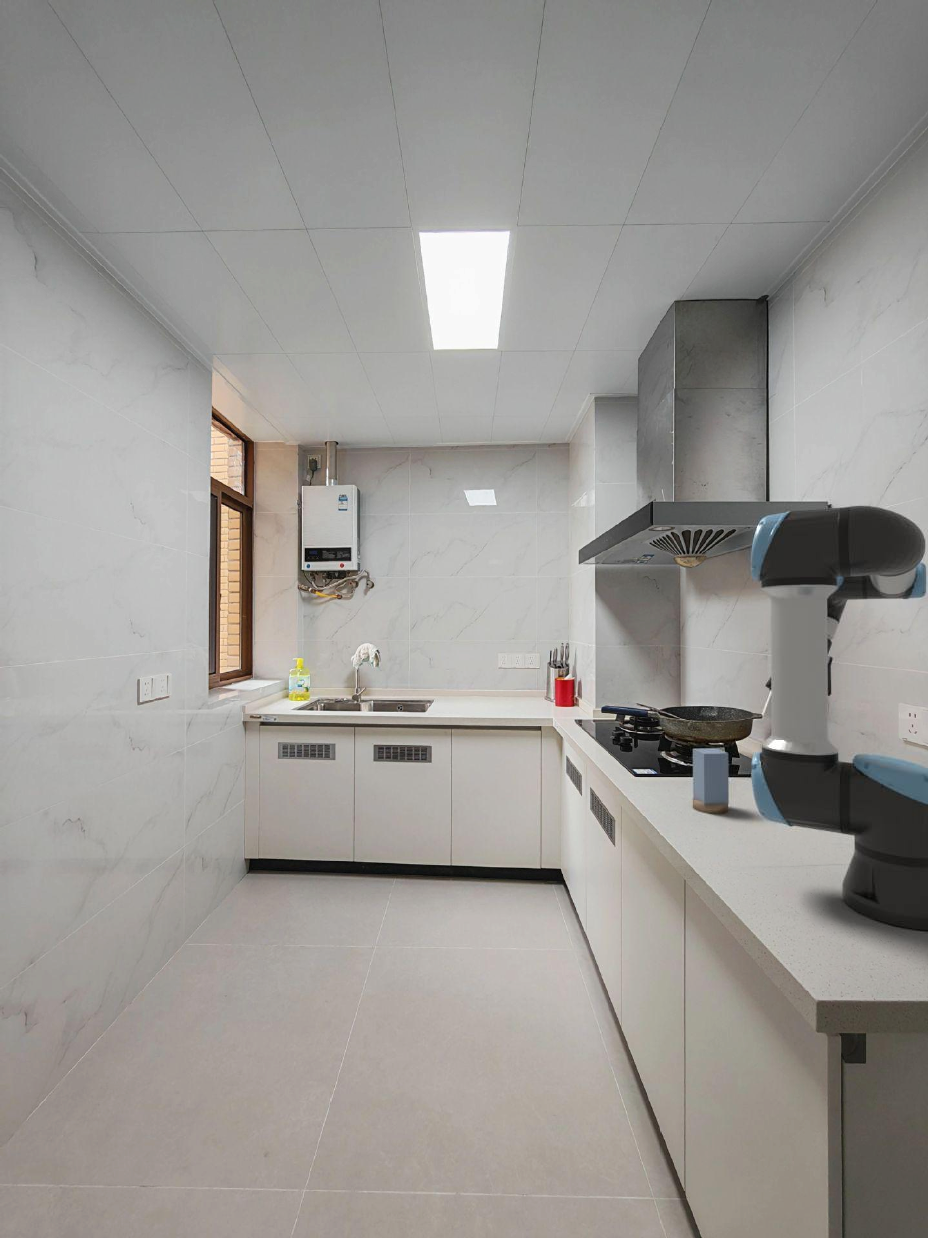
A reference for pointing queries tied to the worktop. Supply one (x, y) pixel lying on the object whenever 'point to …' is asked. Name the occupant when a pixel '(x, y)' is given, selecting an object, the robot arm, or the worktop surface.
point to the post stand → (710, 807)
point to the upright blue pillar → (710, 776)
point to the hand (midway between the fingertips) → (784, 720)
